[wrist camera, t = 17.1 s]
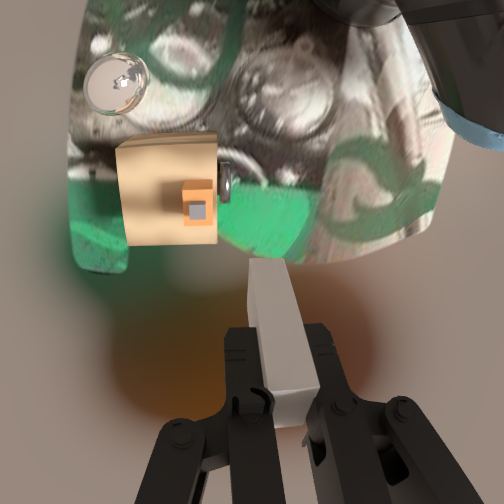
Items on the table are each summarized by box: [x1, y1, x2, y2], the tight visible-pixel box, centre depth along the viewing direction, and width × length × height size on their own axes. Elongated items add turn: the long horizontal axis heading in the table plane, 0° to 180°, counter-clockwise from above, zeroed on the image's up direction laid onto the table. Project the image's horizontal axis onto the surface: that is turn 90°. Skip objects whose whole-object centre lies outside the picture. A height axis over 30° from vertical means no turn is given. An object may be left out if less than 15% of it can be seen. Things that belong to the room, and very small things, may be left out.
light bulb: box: [83, 51, 150, 116], centre depth 27 cm, size 7×7×12 cm
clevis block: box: [115, 131, 217, 246], centre depth 36 cm, size 12×11×8 cm
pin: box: [217, 162, 231, 204], centre depth 37 cm, size 5×13×5 cm, turn 87°
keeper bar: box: [182, 180, 213, 226], centre depth 31 cm, size 4×3×4 cm
